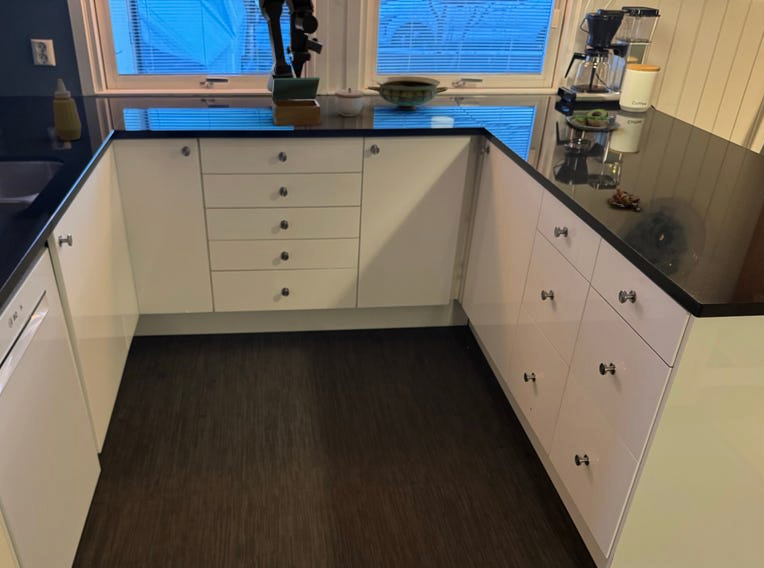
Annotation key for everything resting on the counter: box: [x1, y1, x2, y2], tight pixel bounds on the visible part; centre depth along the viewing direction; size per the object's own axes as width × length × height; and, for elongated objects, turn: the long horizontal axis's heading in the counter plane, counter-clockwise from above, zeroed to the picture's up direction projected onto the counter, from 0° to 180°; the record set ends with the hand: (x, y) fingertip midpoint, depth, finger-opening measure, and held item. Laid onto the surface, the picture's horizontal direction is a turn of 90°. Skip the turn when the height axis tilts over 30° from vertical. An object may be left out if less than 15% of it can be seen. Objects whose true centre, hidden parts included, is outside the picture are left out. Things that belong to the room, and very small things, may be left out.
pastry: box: [608, 187, 641, 212], centre depth 171 cm, size 7×12×4 cm, turn 163°
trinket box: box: [334, 87, 365, 117], centre depth 253 cm, size 11×11×9 cm
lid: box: [271, 76, 320, 101], centre depth 240 cm, size 13×16×1 cm
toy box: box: [271, 98, 321, 127], centre depth 243 cm, size 12×16×6 cm
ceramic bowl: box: [367, 75, 449, 111], centre depth 262 cm, size 30×24×10 cm
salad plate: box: [565, 108, 621, 132], centre depth 240 cm, size 19×18×5 cm
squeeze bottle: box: [52, 78, 82, 142], centre depth 216 cm, size 8×8×18 cm
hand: (298, 79), depth 244 cm, fingers closed
